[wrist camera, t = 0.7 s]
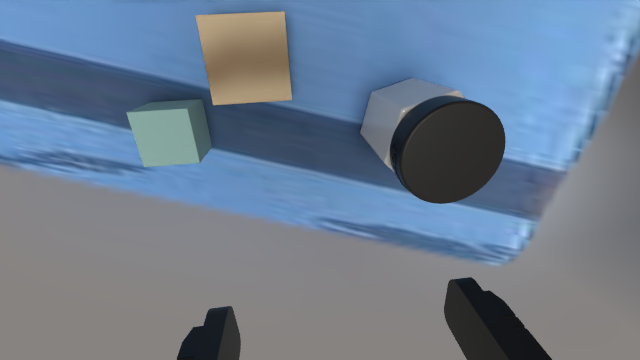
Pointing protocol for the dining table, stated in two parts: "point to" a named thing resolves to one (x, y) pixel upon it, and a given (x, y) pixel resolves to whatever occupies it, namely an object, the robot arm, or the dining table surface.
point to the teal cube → (171, 132)
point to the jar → (434, 139)
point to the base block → (246, 57)
